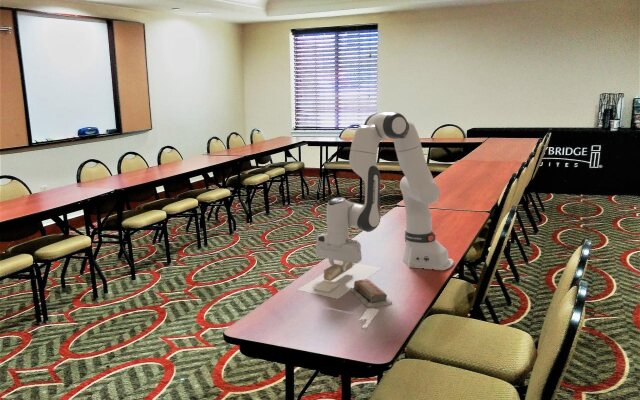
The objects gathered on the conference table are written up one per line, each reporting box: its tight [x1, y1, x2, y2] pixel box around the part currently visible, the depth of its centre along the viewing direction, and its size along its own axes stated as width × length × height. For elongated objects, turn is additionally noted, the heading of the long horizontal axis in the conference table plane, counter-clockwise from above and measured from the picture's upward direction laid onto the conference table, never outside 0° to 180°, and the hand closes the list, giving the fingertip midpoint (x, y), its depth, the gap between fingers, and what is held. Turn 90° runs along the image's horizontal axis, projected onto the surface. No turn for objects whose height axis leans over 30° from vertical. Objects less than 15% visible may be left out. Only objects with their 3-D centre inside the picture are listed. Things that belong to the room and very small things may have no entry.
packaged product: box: [350, 278, 393, 309], centre depth 198 cm, size 18×5×10 cm
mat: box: [296, 263, 382, 300], centre depth 218 cm, size 19×38×1 cm, turn 148°
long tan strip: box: [323, 261, 353, 281], centre depth 215 cm, size 3×18×4 cm, turn 148°
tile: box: [314, 280, 339, 293], centre depth 208 cm, size 7×1×8 cm
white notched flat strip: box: [358, 308, 380, 330], centre depth 181 cm, size 5×15×1 cm, turn 157°
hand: (338, 269), depth 215 cm, fingers closed on long tan strip, 3 cm apart
